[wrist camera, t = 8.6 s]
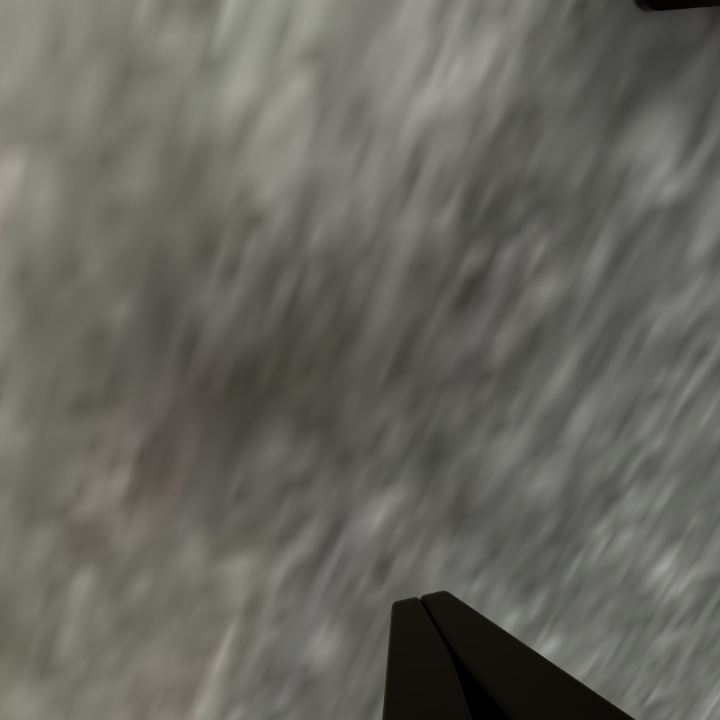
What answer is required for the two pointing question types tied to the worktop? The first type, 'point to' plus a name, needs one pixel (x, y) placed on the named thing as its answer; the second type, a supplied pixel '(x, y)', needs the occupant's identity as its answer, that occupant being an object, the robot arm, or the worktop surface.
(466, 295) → the worktop surface
